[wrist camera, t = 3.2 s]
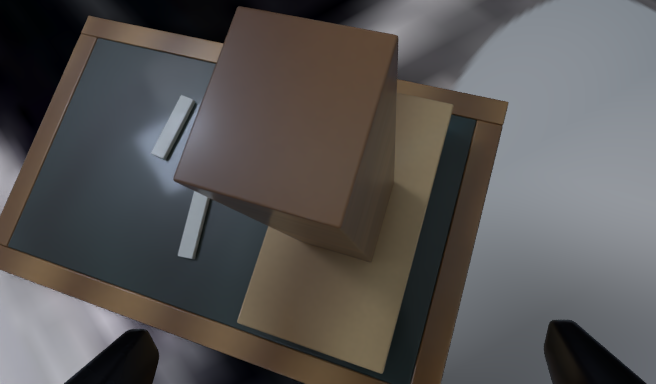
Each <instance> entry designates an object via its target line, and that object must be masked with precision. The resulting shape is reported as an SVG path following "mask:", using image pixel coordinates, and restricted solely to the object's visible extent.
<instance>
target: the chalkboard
mask: <svg viewBox="0 0 656 384" xmlns="http://www.w3.org/2000/svg"><path fill="white" fill-rule="evenodd" d="M81 33H82V34H81V35H80V37H79V39H78V42H77V44H76V46H75V48H74V51H73V53H72V55H71V57H70V60H69V62H68V64H67V66H66V69H65V71H64V73H63V75H62V78H61V80H60V82H59V85H58V87H57V89H56V91H55V94H54V96H53V98H52V100H51V103H50V105H49V107H48V109H47V112H46V114H45V116H44V118H43V121H42V123H41V125H40V127H39V130H38V132H37V134H36V136H35V139H34V141H33V143H32V145H31V148H30V150H29V152H28V154H27V157H26V159H25V161H24V164H23V166H22V168H21V170H20V173H19V175H18V177H17V179H16V182H15V184H14V186H13V188H12V191H11V193H10V195H9V197H8V200H7V202H6V204H5V206H4V209H3V211H2V213H1V215H0V270H2V271H5V272H8V273H10V274H13V275H16V276H18V277H21V278H24V279H26V280H29V281H32V282H35V283H37V284H40V285H43V286H45V287H48V288H51V289H53V290H56V291H59V292H61V293H64V294H67V295H69V296H72V297H75V298H77V299H80V300H83V301H85V302H88V303H91V304H93V305H96V306H99V307H101V308H104V309H107V310H110V311H112V312H115V313H118V314H120V315H123V316H126V317H128V318H131V319H134V320H136V321H139V322H142V323H144V324H147V325H150V326H152V327H155V328H158V329H160V330H163V331H166V332H168V333H171V334H174V335H176V336H179V337H182V338H185V339H187V340H190V341H193V342H195V343H198V344H201V345H203V346H206V347H209V348H211V349H214V350H217V351H219V352H222V353H225V354H227V355H230V356H233V357H235V358H238V359H241V360H243V361H246V362H249V363H252V364H254V365H257V366H260V367H262V368H265V369H268V370H270V371H273V372H276V373H278V374H281V375H284V376H286V377H289V378H292V379H294V380H297V381H300V382H302V383H305V384H441V381H442V376H443V372H444V368H445V364H446V360H447V356H448V352H449V347H450V343H451V339H452V335H453V331H454V327H455V322H456V318H457V314H458V310H459V306H460V301H461V297H462V293H463V289H464V285H465V281H466V277H467V273H468V268H469V264H470V260H471V256H472V251H473V248H474V243H475V239H476V235H477V231H478V227H479V222H480V219H481V214H482V210H483V206H484V202H485V197H486V194H487V190H488V185H489V181H490V177H491V173H492V169H493V165H494V160H495V156H496V152H497V148H498V144H499V140H500V135H501V131H502V125H503V123H504V119H505V115H506V111H507V106H508V102H505V101H500V100H495V99H491V98H486V97H481V96H476V95H471V94H467V93H462V92H457V91H452V90H447V89H442V88H437V87H432V86H428V85H423V84H418V83H413V82H408V81H403V80H398V79H397V93H402V94H406V95H411V96H416V97H420V98H425V99H430V100H435V101H439V102H444V103H449V104H453V106H454V107H453V111H452V114H451V118H450V122H449V126H448V129H447V133H446V137H445V141H444V145H443V148H442V152H441V156H440V160H439V163H438V167H437V171H436V175H435V179H434V182H433V186H432V190H431V194H430V198H429V201H428V205H427V209H426V213H425V216H424V220H423V224H422V228H421V232H420V235H419V239H418V243H417V247H416V250H415V254H414V258H413V262H412V266H411V269H410V273H409V277H408V281H407V284H406V288H405V292H404V296H403V300H402V303H401V307H400V311H399V315H398V319H397V322H396V326H395V330H394V334H393V337H392V341H391V345H390V349H389V353H388V356H387V360H386V364H385V368H384V371H383V373H382V374H380V373H377V372H374V371H372V370H369V369H366V368H363V367H360V366H357V365H355V364H352V363H349V362H346V361H343V360H340V359H338V358H335V357H332V356H329V355H326V354H324V353H321V352H318V351H315V350H312V349H309V348H307V347H304V346H301V345H298V344H295V343H293V342H290V341H287V340H284V339H281V338H278V337H276V336H273V335H270V334H267V333H264V332H261V331H259V330H256V329H253V328H250V327H247V326H245V325H242V324H239V323H237V320H238V317H239V314H240V311H241V308H242V305H243V302H244V299H245V295H246V292H247V289H248V286H249V283H250V280H251V277H252V274H253V271H254V268H255V265H256V262H257V259H258V256H259V253H260V250H261V247H262V244H263V241H264V238H265V235H266V232H267V229H268V226H267V225H265V224H263V223H261V222H259V221H256V220H254V219H252V218H250V217H248V216H246V215H244V214H242V213H240V212H238V211H235V210H233V209H231V208H229V207H227V206H225V205H223V204H221V203H219V202H217V201H214V200H212V199H210V200H209V204H208V208H207V212H206V216H205V220H204V224H203V228H202V232H201V236H200V240H199V244H198V248H197V252H196V256H195V259H190V258H185V257H180V256H178V252H179V248H180V244H181V240H182V236H183V232H184V228H185V225H186V221H187V217H188V213H189V209H190V205H191V202H192V198H193V194H194V191H193V190H191V189H189V188H187V187H185V186H183V185H181V184H179V183H177V182H175V181H174V180H173V177H174V174H175V172H176V169H177V166H178V164H179V161H180V158H181V156H182V153H183V150H184V148H185V145H186V142H187V140H188V137H189V135H190V132H191V129H192V127H193V124H194V121H195V119H196V116H197V113H198V111H199V108H200V105H201V103H202V100H203V97H204V95H205V92H206V89H207V87H208V84H209V81H210V79H211V76H212V73H213V71H214V68H215V65H216V63H217V60H218V57H219V55H220V52H221V49H222V47H223V43H218V42H214V41H209V40H204V39H199V38H194V37H189V36H184V35H180V34H175V33H170V32H165V31H160V30H155V29H150V28H146V27H141V26H136V25H131V24H126V23H121V22H116V21H112V20H107V19H102V18H97V17H92V16H88V19H87V21H86V23H85V25H84V28H83V30H82V32H81ZM181 95H183V96H185V97H188V98H191V99H193V100H194V101H195V104H194V106H193V108H192V110H191V112H190V114H189V116H188V118H187V120H186V122H185V124H184V126H183V128H182V130H181V131H180V133H179V135H178V137H177V139H176V141H175V143H174V145H173V147H172V149H171V151H170V153H169V155H168V157H167V159H166V160H164V159H162V158H159V157H157V156H155V155H153V154H151V152H152V150H153V148H154V146H155V144H156V142H157V140H158V138H159V136H160V135H161V133H162V131H163V129H164V127H165V125H166V123H167V121H168V119H169V117H170V115H171V113H172V111H173V110H174V108H175V106H176V104H177V102H178V100H179V98H180V96H181Z"/></svg>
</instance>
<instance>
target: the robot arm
mask: <svg viewBox="0 0 656 384" xmlns="http://www.w3.org/2000/svg"><path fill="white" fill-rule="evenodd" d="M544 354H545V358H546V362H547V365H548V369H549V373H550V376H551V380H552V383H553V384H646V383H645V382H644V381H643V380H642V379H641V378H639V377H638V376H637V375H636V374H635V373H633V371H631V370H630V369H629V368H628V367H627V366H625V365H624V364H623V363H622V362H621V361H620V360H619V359H617V358H616V357H615V356H614V355H613V354H611V353H610V352H609V351H608V350H607V349H606V348H605V347H603V346H602V345H601V344H600V343H599V342H597V341H596V340H595V339H594V338H593V337H592V336H590V335H589V334H588V333H587V332H586V331H585V330H584V329H582V328H581V327H580V326H579V325H578V324H577V323H575V322H574V321H572V320H552V321H551V322H550V323H549V326H548V330H547V334H546V339H545V343H544ZM158 360H159V352H158V349H157V347H156V345H155V343H154V342H153V340H152V338H151V336H150V334H149V332H148V331H147V330H145V329H131V330H128V331H126V332H125V333H124V334H122V335H121V336H120V337H119V338H118V339H116V340H115V341H114V342H113V343H112V344H111V345H109V346H108V347H107V348H106V349H105V350H103V351H102V352H101V353H100V354H99V355H97V356H96V357H95V358H94V359H93V360H91V361H90V362H89V363H88V364H87V365H86V366H84V367H83V368H82V369H81V370H80V371H78V372H77V373H76V374H75V375H74V376H72V377H71V378H70V379H69V380H68V381H67V382H65V383H64V384H152V383H153V379H154V376H155V372H156V368H157V365H158Z"/></svg>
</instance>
